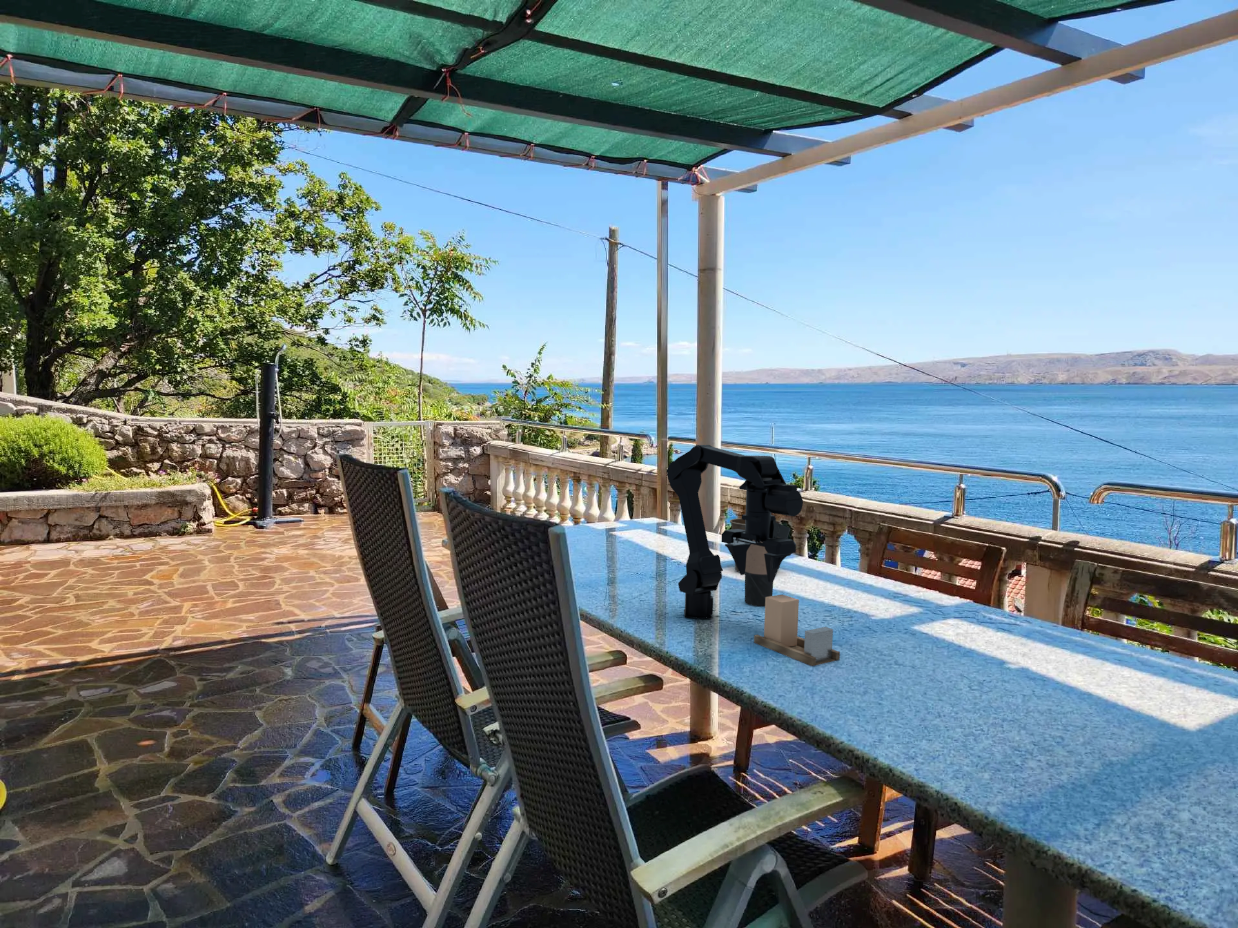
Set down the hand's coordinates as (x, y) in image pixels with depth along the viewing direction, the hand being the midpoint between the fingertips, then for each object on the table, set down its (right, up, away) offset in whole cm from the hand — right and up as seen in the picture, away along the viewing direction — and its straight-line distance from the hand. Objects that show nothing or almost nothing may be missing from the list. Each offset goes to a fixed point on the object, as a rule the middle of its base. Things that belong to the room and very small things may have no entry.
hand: (756, 578), depth 173 cm
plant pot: (+12, -8, +69) cm, 70 cm away
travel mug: (+6, -11, +29) cm, 32 cm away
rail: (+6, -14, -13) cm, 20 cm away
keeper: (+4, -13, -9) cm, 16 cm away
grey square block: (+9, -15, -18) cm, 25 cm away
